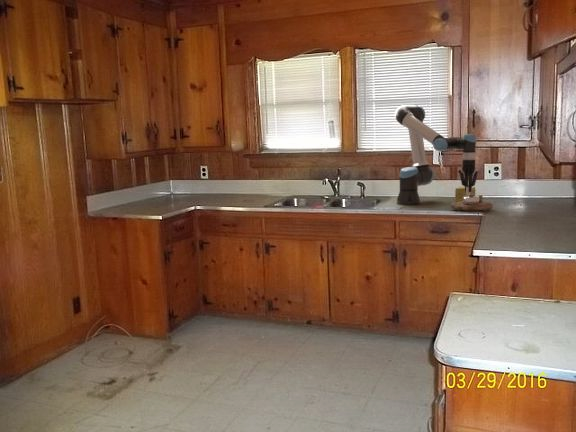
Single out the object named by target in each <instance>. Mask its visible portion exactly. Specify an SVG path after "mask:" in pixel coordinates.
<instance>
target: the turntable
mask: <svg viewBox="0 0 576 432" xmlns="http://www.w3.org/2000/svg"><path fill="white" fill-rule="evenodd" d="M477 196H478V197H479V205H474V206H470V205H464V204H463V201H462V202H455V201H454V202H451V203H450V207H451V208H452V209H456V210H459V209H461V210H484V211H486V210H487V211H488V210H492V209H493V208H494V204H493V203H491V202H486V201H485V202H484V201H483V195H480V194H479V195H477Z"/></svg>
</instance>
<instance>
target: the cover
mask: <svg viewBox="0 0 576 432" xmlns="http://www.w3.org/2000/svg"><path fill="white" fill-rule="evenodd" d="M463 204H464V205H470V206H474V205H479V197H478V195H475V196H474V194H469V196H464V197H463Z"/></svg>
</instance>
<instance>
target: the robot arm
mask: <svg viewBox="0 0 576 432" xmlns="http://www.w3.org/2000/svg"><path fill="white" fill-rule="evenodd" d="M394 118H395V120H396V122H398V123H399V125H401V126H402V127H406V129H408V135H409V143H410V149H411V156H412V162H413V164H412V166H408V167H407V166H406V167H403V168H401V169H400V170H399V175H398V176H399V192H398V195H397V199H396V204H398V205H402V206H403V205H404V206H405V205H406V206H407V205H409V206H412V205H414V206H415V205H419V204H421V199H420V195H419V191H418V190H419V189H418V187H420V186H427V185H430V184H431V183H432V182H433V181H434V178H435V172H434V170H433V169H432V168H431V167H430V163H429V162H428V161H427V156H426V155H427V154H426V150H425V149H426V148H425V143H424V140H425V141H427V142H429V144H431V145H432V147H433V149H434V150H435V151H438V152H443V151H450V150H451V151H452V150H462V167H461V169H459V170H458V173H459V176H460V182H461V187H465V192H466V196H469V194H470V192H471V191H472V187H476V182H477V179H478V175H479V173H480V170H477V169H476V155H477V154H476V151H477V150H476V148H477V135H476V134H475V133H465V134H463V135H462V136H463V137H462V136H461V137H459V136H457V137H456V136H449V137H444V136H443V135H441V134H440V133H439V132H437V131H435V130H434V129H433V128H431V127H429V125H427V124H425V123H424V120H425V118H426V112H425V109H424V108H423V107H422V106H421V105H419V104H403V105H400V106H399V107H397V108H396V110H395V112H394Z"/></svg>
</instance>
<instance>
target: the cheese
mask: <svg viewBox="0 0 576 432" xmlns="http://www.w3.org/2000/svg"><path fill="white" fill-rule="evenodd" d="M454 192H455V193H454V202H462V201H463V197H464V196H466V192H465V186H458V187H456V188H455V191H454ZM470 194H474V196H476V186H472V191H471V192H470Z"/></svg>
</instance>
